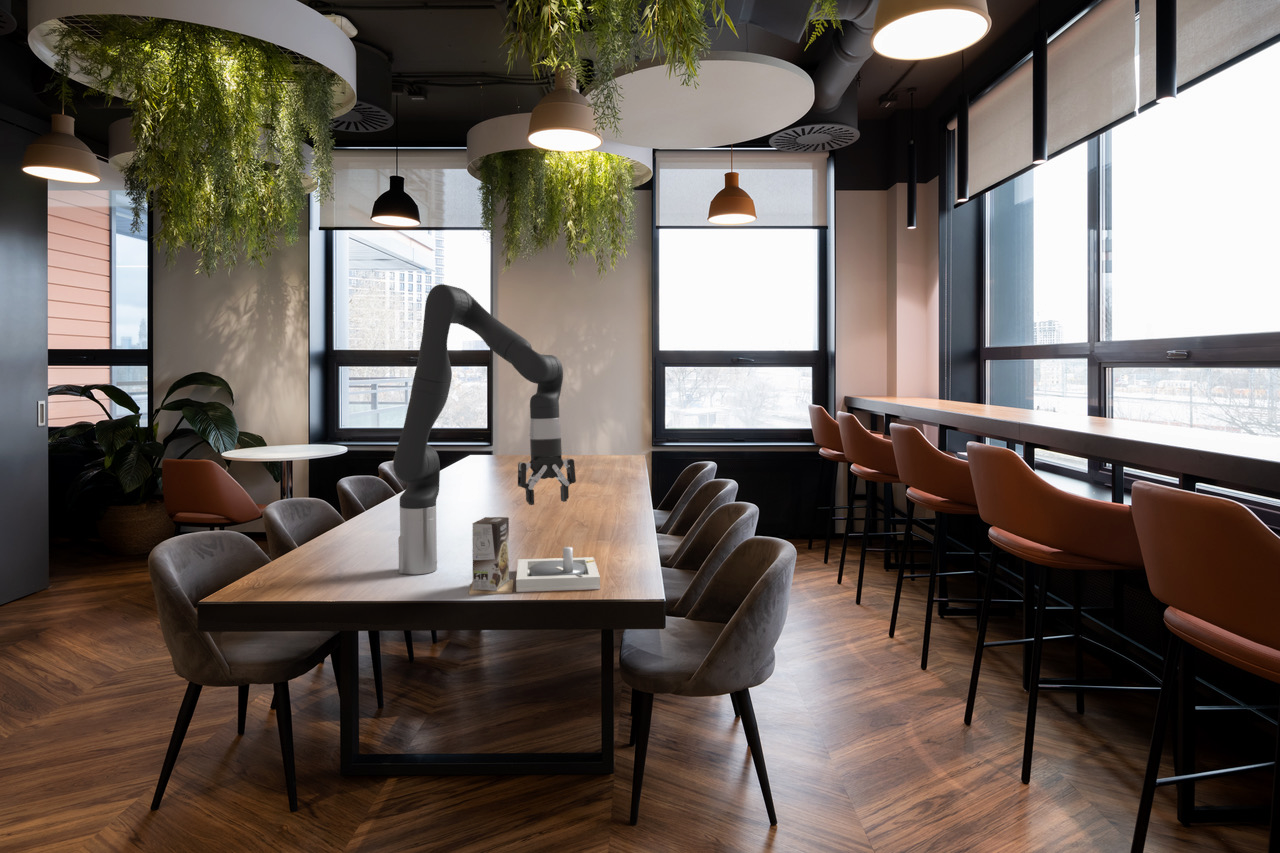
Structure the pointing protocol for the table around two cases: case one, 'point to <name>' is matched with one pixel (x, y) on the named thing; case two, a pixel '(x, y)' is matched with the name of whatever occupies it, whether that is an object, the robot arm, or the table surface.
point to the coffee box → (490, 553)
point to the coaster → (503, 590)
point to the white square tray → (557, 577)
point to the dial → (558, 566)
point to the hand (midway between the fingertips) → (547, 502)
